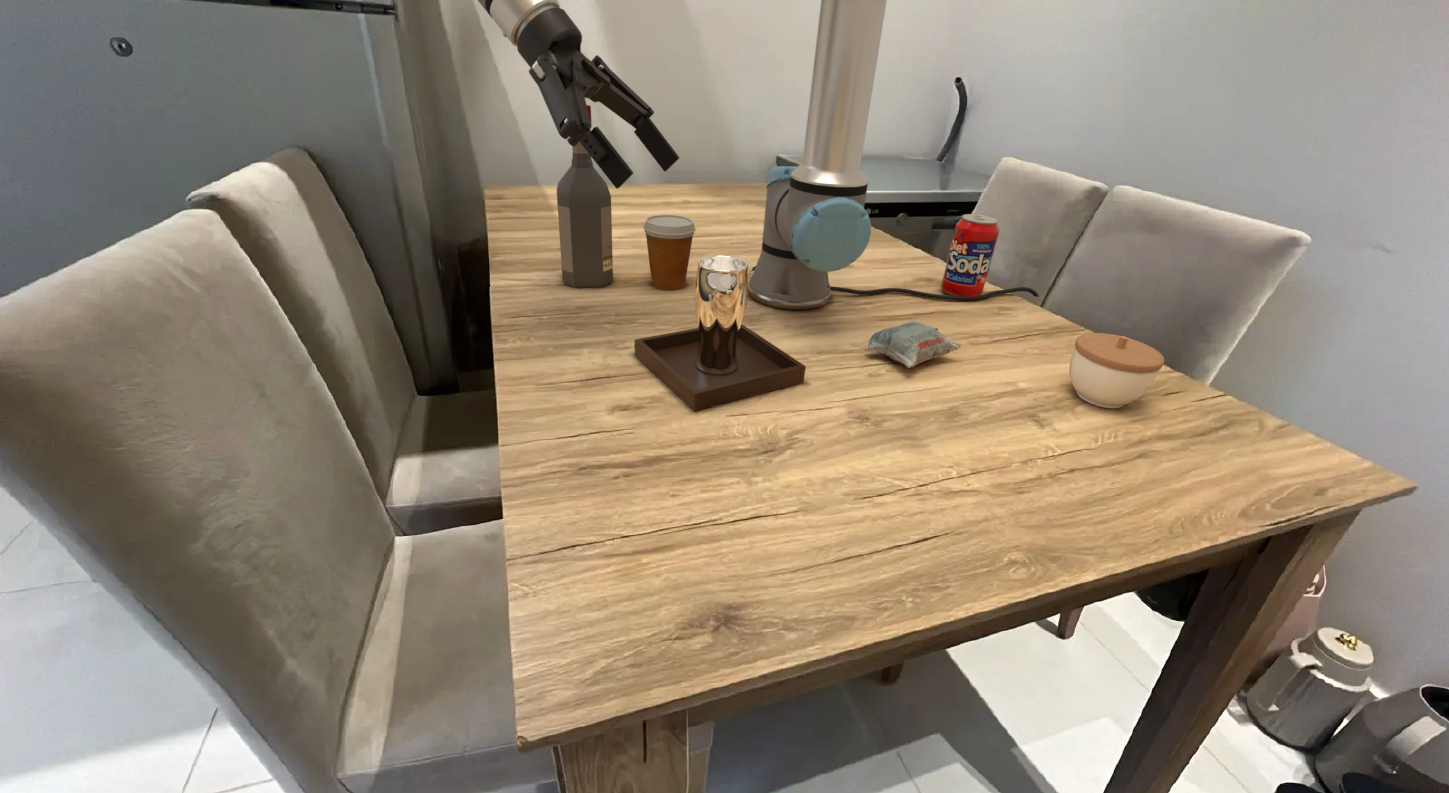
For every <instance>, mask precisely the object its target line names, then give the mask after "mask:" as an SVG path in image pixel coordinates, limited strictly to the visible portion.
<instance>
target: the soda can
mask: <svg viewBox="0 0 1449 793" xmlns="http://www.w3.org/2000/svg"><path fill="white" fill-rule="evenodd" d="M998 223H999V220H998V219H997V218H995V217H992V216H988V215H984V214H974V213H966V214H962V215H961V219H959V221H957V223H955V227H954V230H953V234H952V239H951V243H950V246H949V252H948V256H947V260H946V264H945V268H944V272H943V276H942V280H941V285H940V288H941V290H942V291H943V292H945V294H946V295H949V296H969V297H975V296H979V295H983V291H984V288H985V285H986V281H987V277H988V274H989V270H990V266H991V264H992V259H993V257H994V252H995V249H996V245H997V241H998V238H999V235H1000V228H999V225H998Z"/></svg>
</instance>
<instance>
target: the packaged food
mask: <svg viewBox="0 0 1449 793" xmlns="http://www.w3.org/2000/svg"><path fill="white" fill-rule="evenodd" d="M961 346H962V344H961V343H960V342H956V341H952V340H950V339H949V338H947V337H946V336H945V335H944V334H943V333H942V332H940V331H939V329H938V327H935V326H931V325H927V324H924V323H920V322H917V321H910V322H907V323H904V324H900V325H897V326H892V327H887V328H885V329H881V330H879V331H876V332H874V333H873V334H872V335H871V337H870V338H869V341H868V344H867V350H868V351H873V350H875V351H877V352H878V353H880V354H881V355H883V356H885V357H886V358H888V359H891V360H893V361H894V362H897V363H899V364H901V365H904V366H905V367H906V368H908V369H909V368H913V367H916V366H917V365H919V364H921V363H924V362H925V361H926V362H927V361H928V362H929V361H930V360H933V359H935V358H938V357H941V356H945V355H948V354H950V353H951V352H955V351H956V350H959V349H961Z"/></svg>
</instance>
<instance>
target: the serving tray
mask: <svg viewBox="0 0 1449 793" xmlns="http://www.w3.org/2000/svg"><path fill="white" fill-rule="evenodd" d="M698 347H699V330H698V327H694V328H689V329H684V330H678V331H674V332H667V333H662V334H657V335H653V336H652V335H651V336H646V337H641V338H636V339H634V356H635V357H636V359H638V360H639V362H641V363H642V364H643V365H644V366H645V367H646V368H647V369H648V370H650V371H651V372H652V373H653V375H655V376H656V377H657V378H658V379H659V380H660V381H661V382H662V383H663V384H664V385H666V386H667V388H669V389H670V391H672V392H673V393H674V394H675V395H676V396H677V397H678V398H679V399H680V400H681V401H682V402H683V403H684V404H685V405H687V406H688V407H689V408H690V409H691V410H692V411H693V412H697V411H701V410H705V409H708V408H713V407H716V406H720V405H725V404H728V403H731V402H735V401H739V400H743V399H747V398H750V397H754V396H758V395H763V394H765V393H766V394H767V393H769V392H773V391H777V390H781V389H785V388H789V387H792V386H796V385H800V384H804V382H805V375H806V368H807V367H806V365H805V364H803V363H802V362H800V361H798V360H797V359H795V358H794V357H792V356H791V355H790V354H788V353H786V352H785V351H783V350H782V349H781V348H779V347H777V346H776V345H774V344H773V343H772V342H770V341H768V340H767V339H765V338H764V337H763V336H761V335H759V334H758V333H756V332H755V331H753V330H752V329H750V327H747V326H745V325H744V324H742V323H741V326H740V330H739V334H738V338H737V344H736V352H737V361H738V367H737V369H736V370H735V371H733V372H731V373H728V374H722V375H716V374H709V373H705V372H703V371H701V370H699V369H698V368H697V367H696V365H695V360H696V356H697V352H698Z"/></svg>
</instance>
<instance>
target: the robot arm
mask: <svg viewBox="0 0 1449 793" xmlns="http://www.w3.org/2000/svg"><path fill="white" fill-rule="evenodd" d="M477 2H478V3H479V5H480V6H482V7H483V10H484V11H485V12H486V13H487V14H488V15H489V17H490V18H491V19H493V21H494V22H495V24H496V25H497V26H498V28H499V29H500V30H501V34H502V36H503V37H504V38H507V39H508V40H509V42H510V43H511V44H512V45H513V46H514V47H516V49H517V52H518V53H519V55H520V56H521V57H522V59H523V60H524V62H525V63H526V64H527V65H528V66H529V69H528V74H529V75H530V77H531V78H532V79H533V81H534V82H535V84H536V86H538V89H539V91H540V93H541V96H542V98H543V100H544V103H545V105H546V107H547V110H548V113H549V114H550V116H551V119H552V121H553V123H554V125H555V128H556V130H557V133H558V135H559V136H560V138H563V140H566V141H567V143H568V144H569V145H570V146H571V147H572V146H573V147H575V146H576V145H577V144H578V143H579V141H580V143H581V144H582V146H583V147H584V148H585V149H586V151H587V152H588V153H589V154H590V156H591V159H593V162H595V164H596V165H597V166H598V167H599V168H600V170H601V171H602V172H603V173H604V175H605V176H606V178H607V179H608V180H609V181H610V182H611V184H612V185H613V186H614V188H615V189H620V188H621V187H622V186H623V185H624V184H625V183H626V182H627V180H628V179H630V177H631V176H632V175H634V171H633V170H632V168H630V166H629V165H628V163H627V162H626V161H625V160H624V158H623V157H622V156H621V155H620V153H619V152H618V151H617V149H616V148H615V147H614V146H613V144H612V143H611V142H610V141H609V139H608V138H607V137H606V135H605V134H604V133H603V132H602V130H601V129H600V128H599V127H598V126H594V127H593V128H592V126H591V123H592V121H591V122H590V118H589V113H588V109H587V105H588V104H587V101H586V99H589V100H590V101H592V102H593V103H600V104H602V105H603V106H604V107H606V108H607V109H608V110H610V111H611V112H612V113H614V114H615V115H616V116H618V117H619V118H621V119H622V120H623V121H625V122H626V123H627V124H629V125H630V126H632V127H633V128H634V129H635V130H634V131H633V133H634V135H635V136H636V137H637V138H638V139H639V141H640V142H641V143H642V145H643V146H644V148H645V149H646V150H647V151H648V152H649V154H650V155H651V156H652V158H653V159H654V160H655V162H656V163H657V164H658V165H659V167H660V168H661V170H662V171H663V172H667V171H668V170H669V169H670V168H672V167H673V165H674V164H675V163H676V162H677V161H678V160H680V156H679V155H678V153H677V152H676V151H675V149H674V148H673V147H672V146H671V144H670V143H669V142H668V140H667V139H666V137H665V136H664V135H663V133H662V132H661V131H660V130H659V128H658V127H657V126H656V124H655V123H654V122H653V121H652V120H651V117H652V116H653V115H654V114H655V112H654V110H653V109H652V107H651V106H650V105H648V103H646V101H644V100H643V99H642V98H641V96H639V95H638V94H637V93H636V92H635V91H634V90H633V89H632V88H631V87H630V86H628V85H627V84H626V83H625V82H624V81H623V80H622V79H621V78H620V77H619V76H618V75H617V74H616V73H615V72H613V70H612V69H611V68H610V67H609V65H607V63H605V61H604V60H603V59H602V57H600V56H599V55H596V54H595V56H594V57H593V58H592V60H590V58H588V57H587V56H586V55H585V54H584V53H583V52H582V51H581V46H582V43H583V35H582V32H581V30H580V29H579V27H578V26H577V25H576V23H575V22H574V21H573V19H572V18H571V17H570V16H569V15H568V13H567V12H566V10H565V9H563V8H561V3H560V1H559V0H477ZM887 2H888V0H820V6H819V7H820V8H819V14H818V15H819V17H818V25H817V33H816V41H815V51H814V60H813V67H812V77H811V83H810V84H811V86H810V93H809V101H808V102H809V103H808V111H807V120H806V128H805V137H804V145H803V154H802V162H801V163H800V164H799V165H798V166H795V165H794V166H791V165H789V166H787V165H786V166H785V165H779V166H774V167H772V168H771V170H770V171H769V173H768V179H767V183H766V198H765V208H764V221H763V230H762V242H761V243H762V244H761V252H760V255H759V257H758V259H757V262H756V265H755V266H753V267H752V269H751V272H750V273H752V275H751V276H750V278H749V281H748V287H747V294H748V295H749V297H750V298H752V299H753V300H755V301H756V302H758V303H760V304H763V305H765V306H769V307H771V308H778V309H783V310H795V311H796V310H797V311H800V310H801V311H803V310H805V311H806V310H812V309H813V310H814V309H818V308H821V307H823V306H825V305H827V304H828V303H829V301H830V298H831V291H832V292H839V293H848V294H852V295H861V296H862V295H863V296H870V295H877V294H882V293H883V294H884V293H899V294H900V293H901V294H907V295H913V296H919V297H922V298H923V297H924V298H928V299H929V298H930V299H936V300H946V301H978V300H979V301H980V300H984V299H987V298H990V297H992V296H997V295H998V296H999V295H1005V294H1011V293H1017V292H1026V293H1030V294H1031V295H1032V296H1033V297H1036V298H1038V297H1040V295H1039V293H1038V292H1037V291H1036V290H1034V289H1033V288H1031V287H1027V286H1017V287H1011V288H1007V289H998V290H993V291H990V292H987V293H984V294H983V293H982V294H981V295H979V296H975V297H969V296H950V295H948V294H937V293H930V292H924V291H919V290H914V289H907V288H901V287H885V288H877V289H868V290H863V289H861V290H860V289H854V288H847V287H840V286H833V285H831V284H830V281H829V280H830V279H829V273H831V272H837V271H840V270H843V269H845V268H847V267H849V266H850V265H852V264H853V263H854V262H855V261H857V260H858V259H859V258H860V257H861V256H862V254H864V252H865V250H866V248H868V245H869V242H870V240H871V235H872V224H871V218H870V216H869V214H868V211H867V210H866V209H865V203H866V198H867V191H868V187H869V178H868V177H867V176H866V175H865V173H864V171H862V168H861V164H862V157H863V151H864V145H865V139H866V132H867V128H868V120H869V114H870V107H871V101H872V95H873V88H874V82H875V76H876V69H877V63H878V57H879V51H880V44H881V39H882V38H881V37H882V33H883V28H884V27H883V26H884V20H885V15H886V14H885V13H886V7H887Z"/></svg>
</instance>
